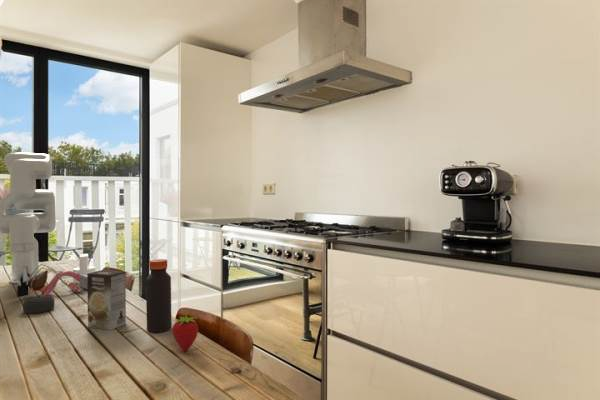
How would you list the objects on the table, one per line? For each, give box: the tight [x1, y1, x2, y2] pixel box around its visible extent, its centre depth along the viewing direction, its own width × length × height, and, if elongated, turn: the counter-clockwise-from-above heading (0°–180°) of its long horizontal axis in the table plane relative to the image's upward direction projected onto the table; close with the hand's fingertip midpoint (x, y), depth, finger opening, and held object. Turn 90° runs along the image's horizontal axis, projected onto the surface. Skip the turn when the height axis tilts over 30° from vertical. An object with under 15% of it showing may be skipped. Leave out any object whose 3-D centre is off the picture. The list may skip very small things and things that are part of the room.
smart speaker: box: [22, 296, 55, 315], centre depth 130 cm, size 9×9×4 cm
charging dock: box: [78, 274, 88, 291], centre depth 161 cm, size 15×2×5 cm, turn 46°
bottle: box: [145, 258, 173, 334], centre depth 110 cm, size 7×7×20 cm
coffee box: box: [86, 269, 127, 331], centre depth 114 cm, size 9×6×16 cm
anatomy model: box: [28, 263, 82, 297], centre depth 154 cm, size 11×15×17 cm
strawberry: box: [172, 311, 199, 352], centre depth 94 cm, size 6×8×10 cm
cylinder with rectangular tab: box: [72, 253, 96, 284], centre depth 176 cm, size 9×9×12 cm
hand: (22, 295), depth 146 cm, fingers closed
